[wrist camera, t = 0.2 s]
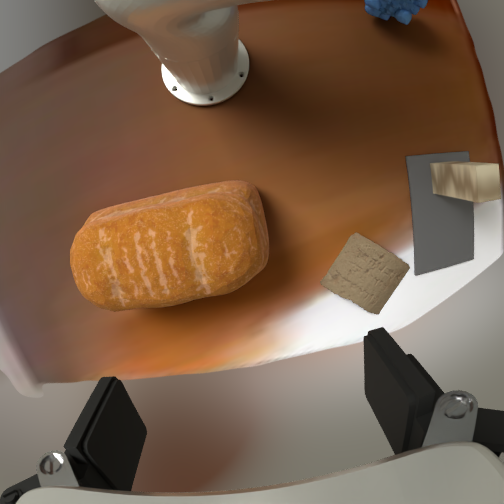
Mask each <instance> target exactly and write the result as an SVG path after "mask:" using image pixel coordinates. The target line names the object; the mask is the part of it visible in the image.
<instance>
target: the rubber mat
mask: <svg viewBox="0 0 504 504" xmlns="http://www.w3.org/2000/svg"><path fill="white" fill-rule="evenodd" d="M405 157H406V164H407V171H408V180H409V188H410V198H411V209H412V222H413V238H414V266H415V275H420V274H423V273H427V272H431V271H434V270H438V269H441V268H445V267H448V266H452V265H455V264H459V263H462V262H465V261H469V260H472V259H474V212H473V201H468V200H463V199H459V198H454V197H449V196H444V195H439V194H434V193H433V186H432V177H431V168H430V163H438V162H449V161H459V162H470V159H469V151H464V152H450V153H437V154H425V155H415V156H405Z"/></svg>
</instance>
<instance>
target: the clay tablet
mask: <svg viewBox="0 0 504 504" xmlns="http://www.w3.org/2000/svg"><path fill="white" fill-rule="evenodd" d="M409 269H410V267H409V265H408V264H407V263H405V262H403V261H402V260H401V259H399V258H398V257H397V256H396V255H394V254H393V253H390V252H388V251H387V250H385V249H384V248H382V247H380V246H379V245H378V244H375V243H374V242H372V241H370V240H369V239H367V238H365V237H363V236H361V235H360V234H359V233H355V234H353V235H351V236H350V237H349V239H348V241H347V243H346V245H345V246H344V248H343V249H342V251H341V252H340V254H339V255H338V257H337V258H336V260H335V262H334V263H333V265H332V266H331V268H330V269H329V271H328V273H327V275H326V276H325V277H324V278H323V279H322V280H321V281H320V283H321V285H323V286H324V287H326V288H328V289H331V291H332V292H333V293H334V294H338V295H339V296H341V297H343V298H345V299H349V300H352V302H353V303H356V304H358V305H359V306H360V307H362V308H364V310H367V311H368V312H370V313H374V314H379V313H380V311H381V309H382V308H383V307H384V305H385V304H386V302H387V301H388V299H389V298H390V296H391V295H392V293H393V292H394V290H395V289H396V288H397V286H398V285H399V283H400V282H401V280H402V279H403V277H404V276H405V274H406V273H407V272H408V270H409Z"/></svg>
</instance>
